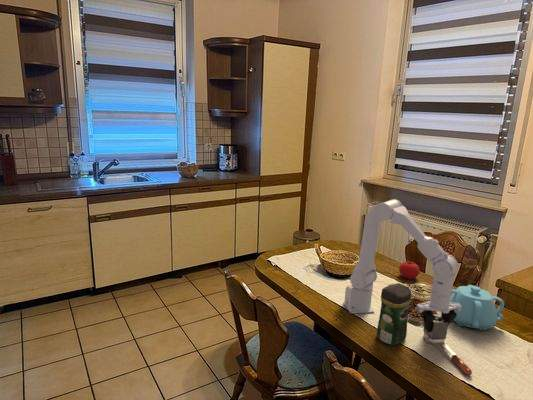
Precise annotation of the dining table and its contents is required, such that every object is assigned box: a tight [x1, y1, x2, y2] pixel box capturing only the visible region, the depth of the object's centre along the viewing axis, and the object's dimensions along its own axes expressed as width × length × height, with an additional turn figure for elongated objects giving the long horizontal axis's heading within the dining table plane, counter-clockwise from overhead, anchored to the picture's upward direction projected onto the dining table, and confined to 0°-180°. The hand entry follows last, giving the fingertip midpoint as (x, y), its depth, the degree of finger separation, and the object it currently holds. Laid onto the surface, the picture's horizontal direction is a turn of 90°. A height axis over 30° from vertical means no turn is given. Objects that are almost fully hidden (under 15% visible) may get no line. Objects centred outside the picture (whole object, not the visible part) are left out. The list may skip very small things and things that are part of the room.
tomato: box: [398, 260, 420, 280], centre depth 168 cm, size 9×9×8 cm
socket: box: [422, 313, 449, 340], centre depth 121 cm, size 5×5×6 cm
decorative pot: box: [450, 284, 505, 331], centre depth 132 cm, size 16×16×14 cm
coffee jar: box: [376, 282, 412, 346], centre depth 119 cm, size 10×8×19 cm
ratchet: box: [422, 331, 473, 376], centre depth 114 cm, size 21×6×4 cm, turn 8°
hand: (435, 330), depth 121 cm, fingers closed on socket, 5 cm apart
